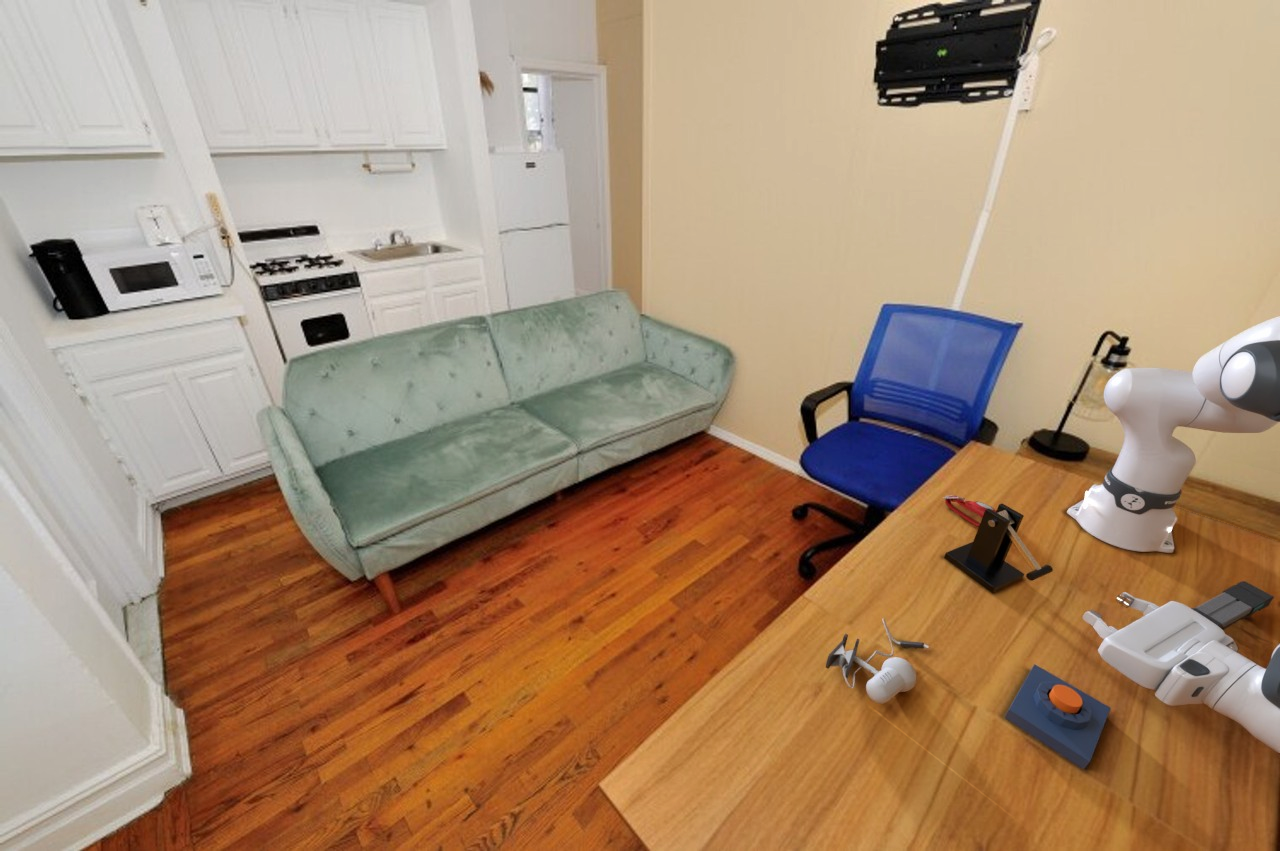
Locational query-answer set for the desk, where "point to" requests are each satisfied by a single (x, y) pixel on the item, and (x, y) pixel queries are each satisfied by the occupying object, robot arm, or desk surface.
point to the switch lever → (1025, 552)
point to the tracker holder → (967, 507)
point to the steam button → (1065, 699)
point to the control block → (1058, 718)
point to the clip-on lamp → (885, 682)
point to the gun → (1234, 604)
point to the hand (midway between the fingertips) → (1102, 604)
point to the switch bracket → (989, 551)
